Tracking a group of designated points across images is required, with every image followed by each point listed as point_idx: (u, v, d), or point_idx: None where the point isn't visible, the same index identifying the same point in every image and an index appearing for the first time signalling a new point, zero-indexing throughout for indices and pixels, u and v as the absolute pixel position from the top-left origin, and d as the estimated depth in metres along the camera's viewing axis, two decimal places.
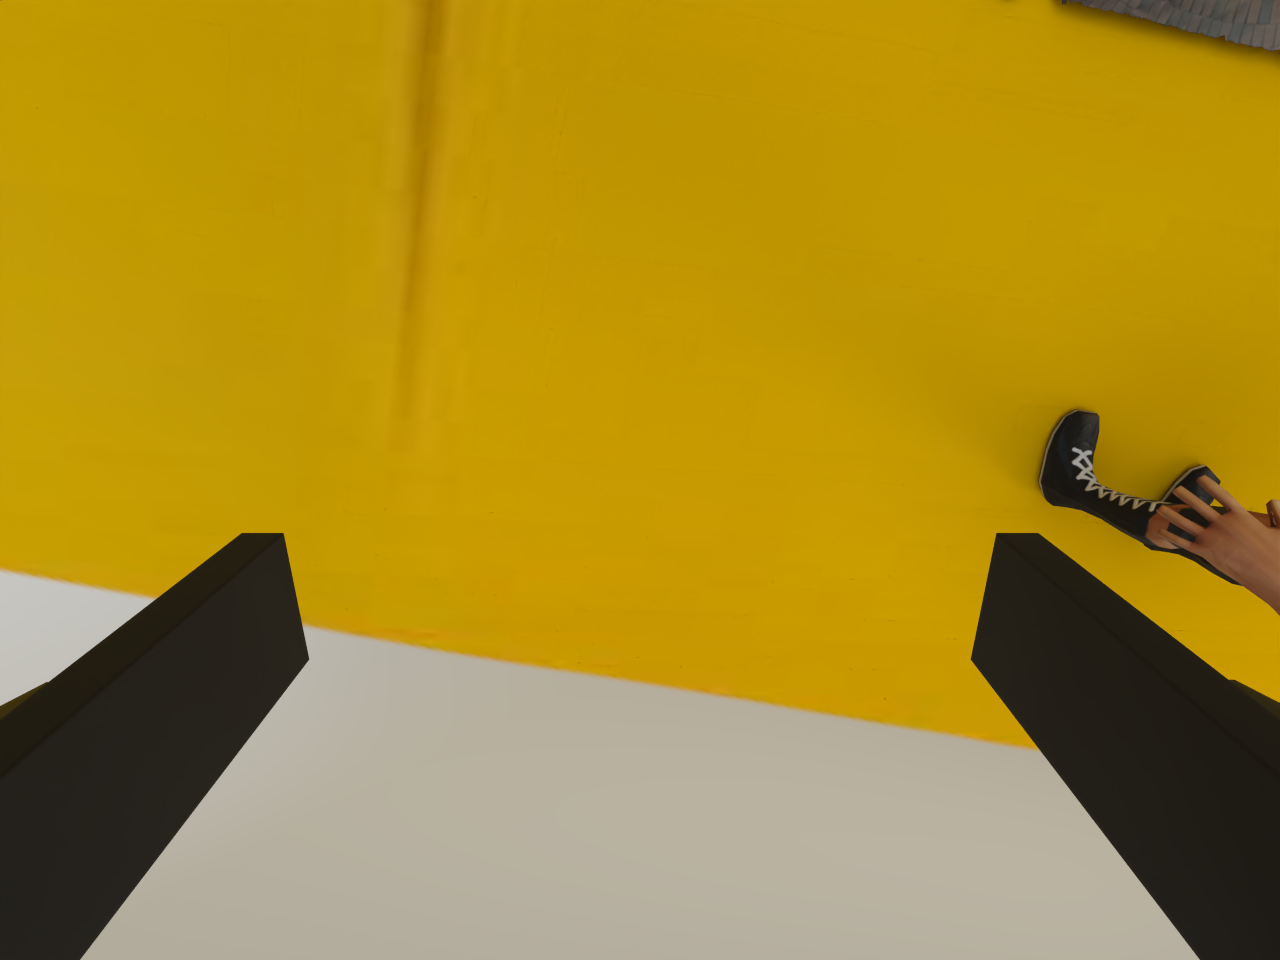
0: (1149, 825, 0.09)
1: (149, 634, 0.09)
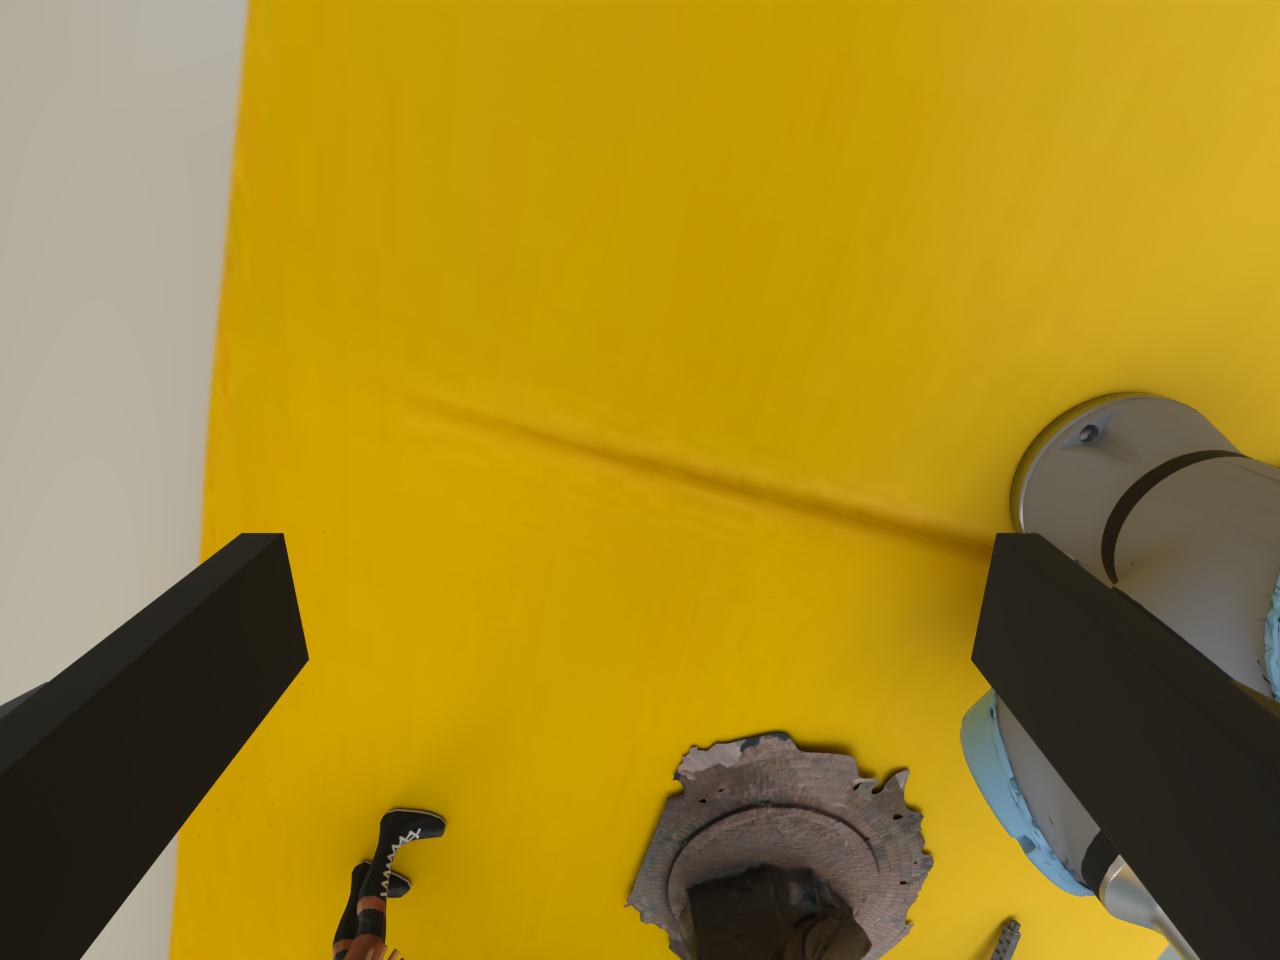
0: (1149, 825, 0.09)
1: (148, 634, 0.09)
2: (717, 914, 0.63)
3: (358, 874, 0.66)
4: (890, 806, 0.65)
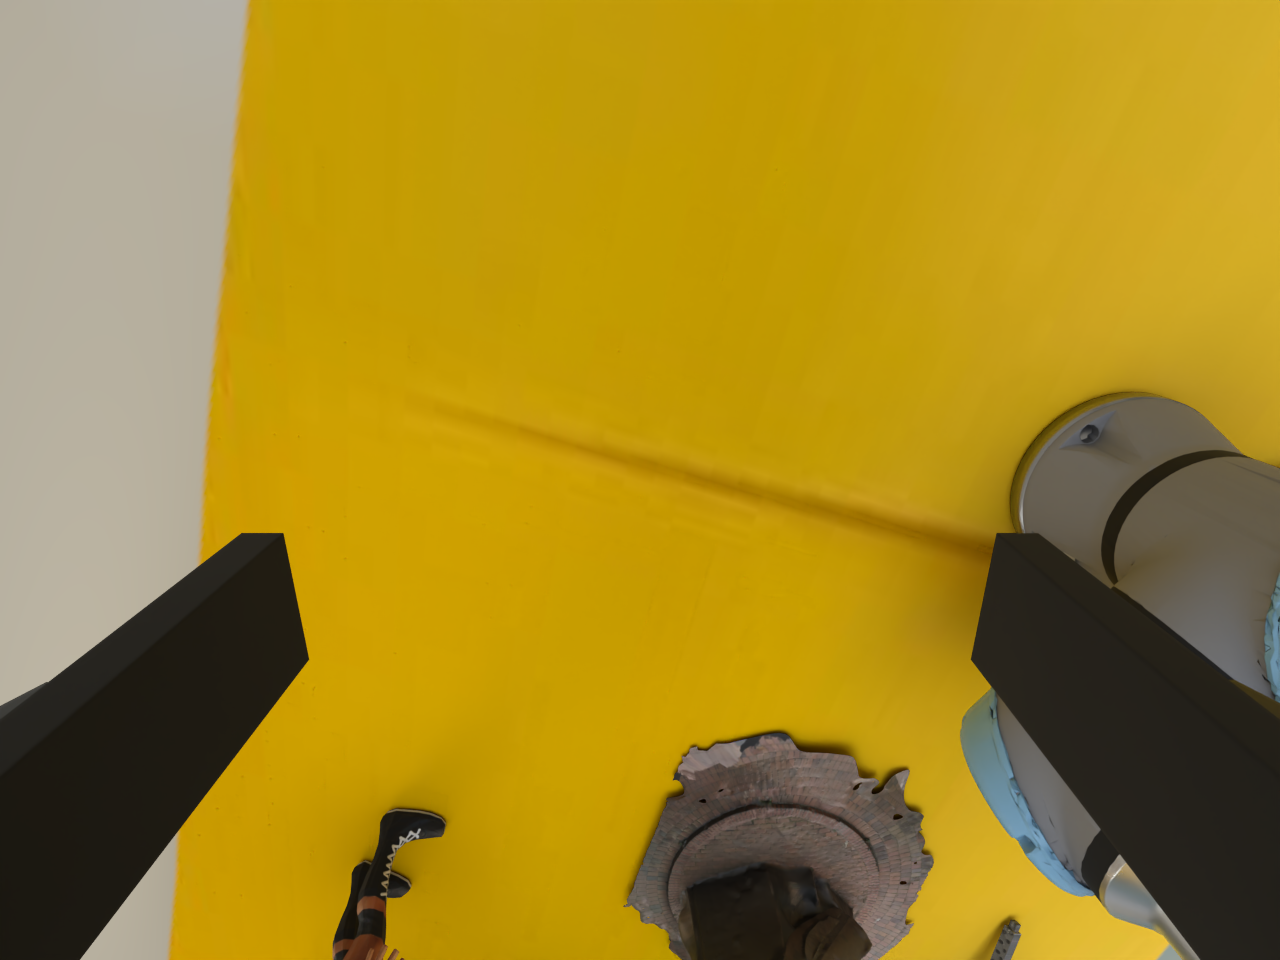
0: (1149, 825, 0.09)
1: (148, 634, 0.09)
2: (717, 914, 0.63)
3: (358, 874, 0.66)
4: (890, 806, 0.65)
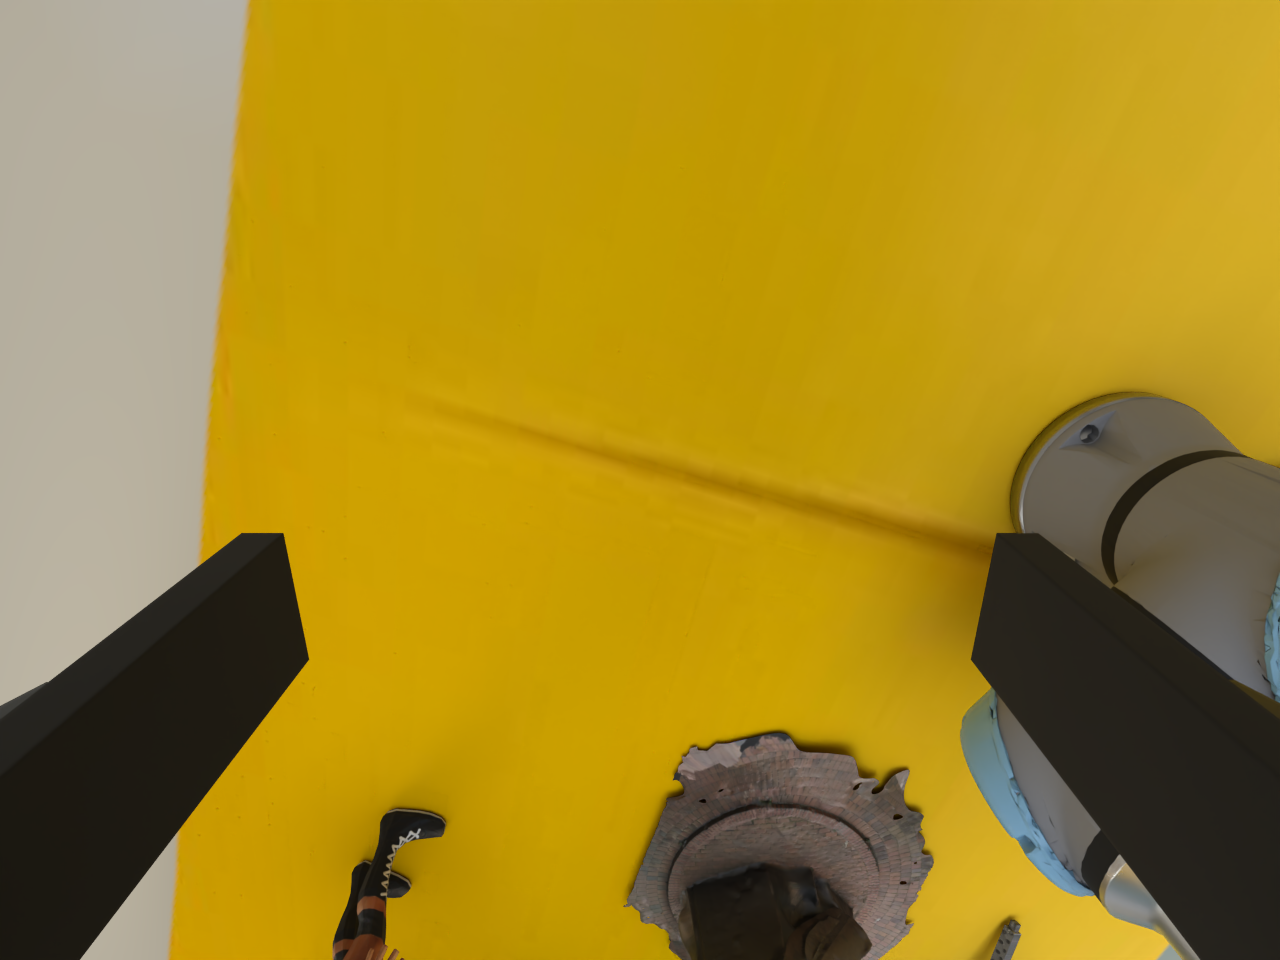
0: (1149, 825, 0.09)
1: (148, 634, 0.09)
2: (717, 914, 0.63)
3: (358, 874, 0.66)
4: (890, 806, 0.65)
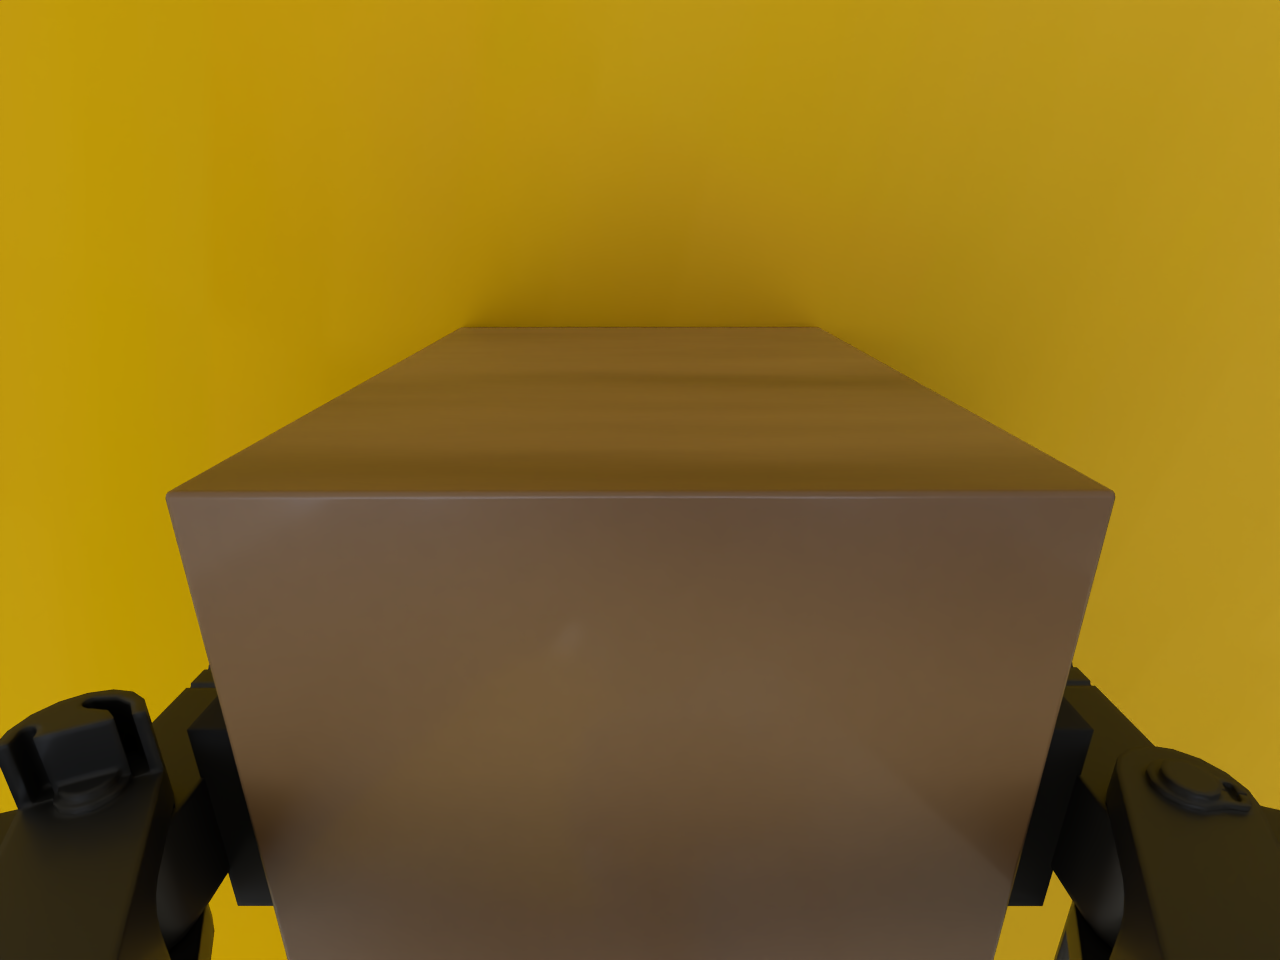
0: None
1: None
2: None
3: None
4: None
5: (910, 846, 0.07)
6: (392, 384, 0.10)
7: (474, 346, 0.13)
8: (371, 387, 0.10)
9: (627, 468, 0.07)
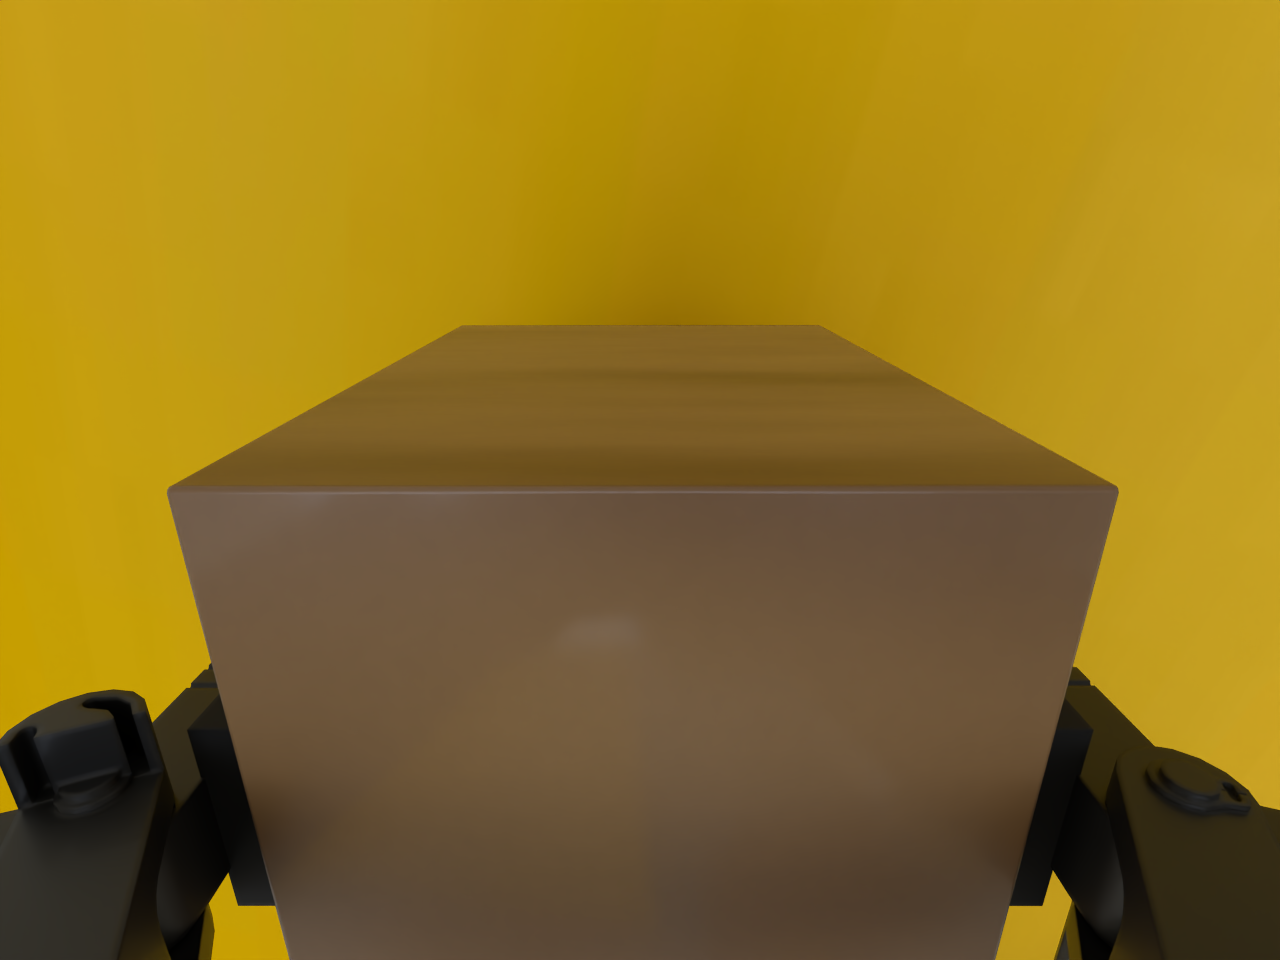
0: None
1: None
2: None
3: None
4: None
5: (913, 844, 0.07)
6: (393, 381, 0.10)
7: (475, 344, 0.13)
8: (372, 384, 0.10)
9: (629, 464, 0.07)
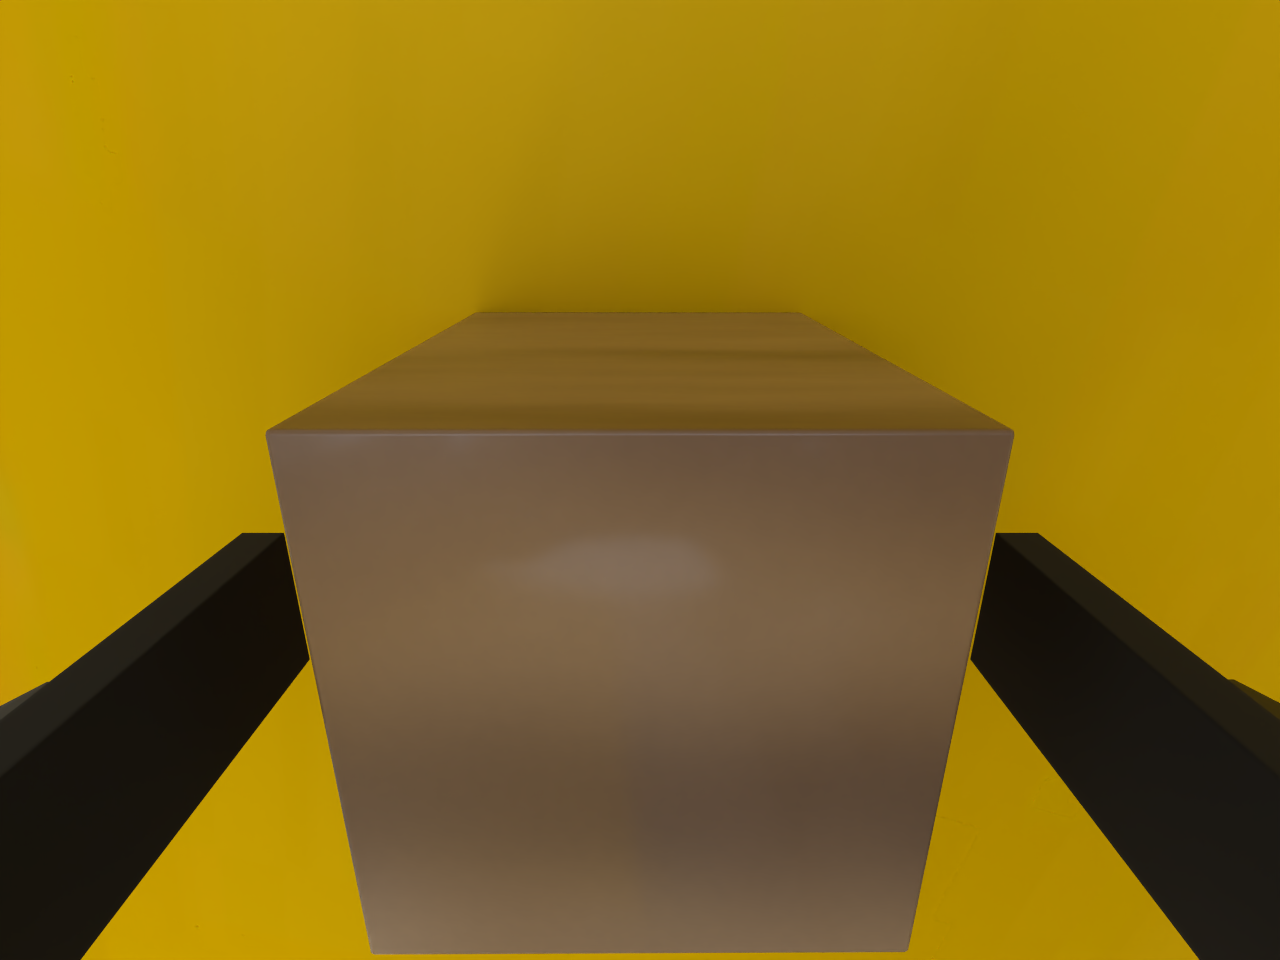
0: (1148, 824, 0.09)
1: (149, 634, 0.09)
2: None
3: None
4: None
5: (862, 729, 0.09)
6: (425, 357, 0.12)
7: (490, 328, 0.15)
8: (407, 359, 0.11)
9: (630, 415, 0.08)
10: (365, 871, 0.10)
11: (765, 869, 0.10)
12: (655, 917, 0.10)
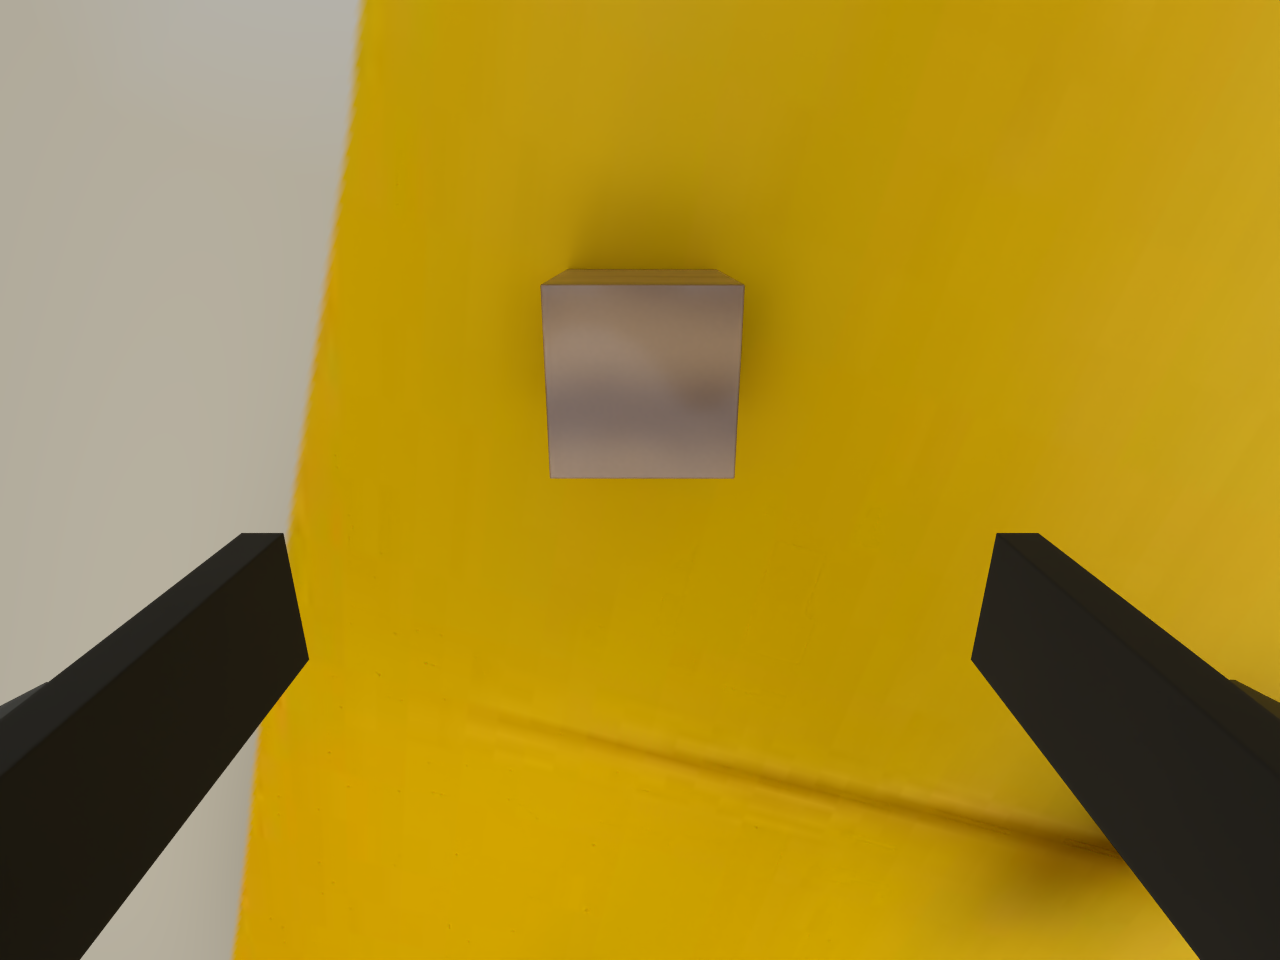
0: (1149, 824, 0.09)
1: (148, 634, 0.09)
2: None
3: None
4: None
5: (710, 384, 0.30)
6: (564, 277, 0.32)
7: (579, 272, 0.35)
8: (559, 277, 0.32)
9: (639, 283, 0.29)
10: (552, 440, 0.30)
11: (683, 440, 0.30)
12: (647, 461, 0.31)
